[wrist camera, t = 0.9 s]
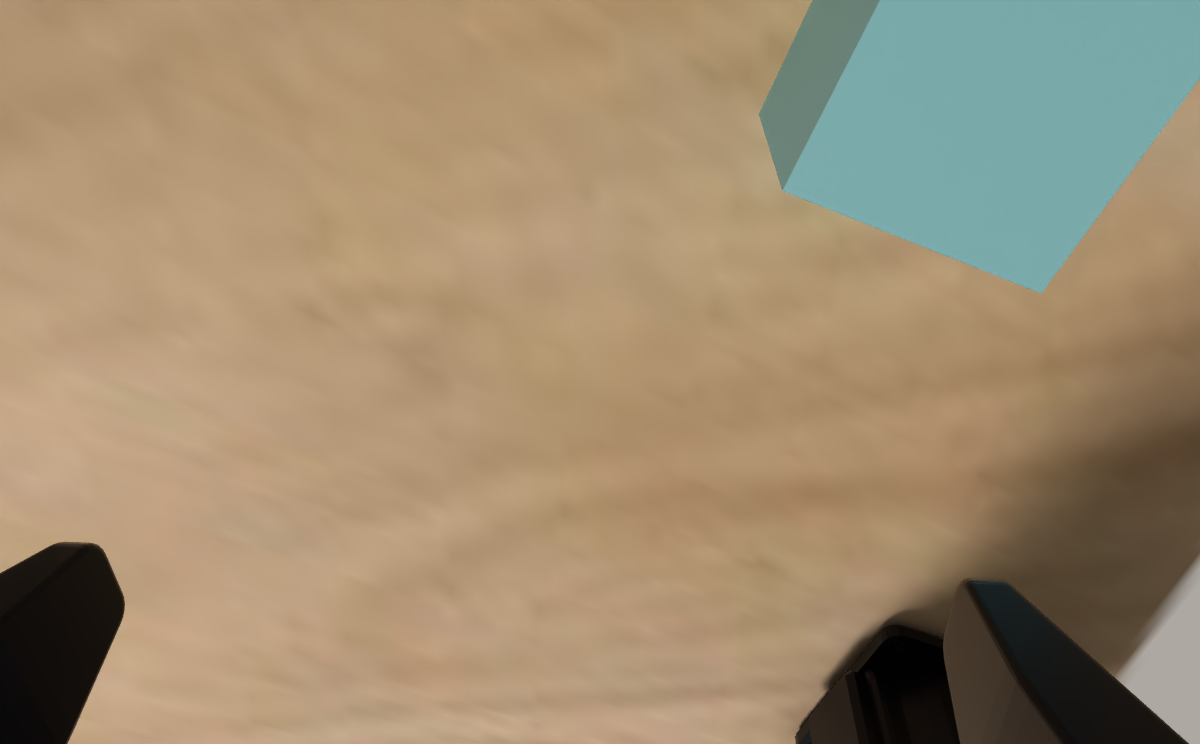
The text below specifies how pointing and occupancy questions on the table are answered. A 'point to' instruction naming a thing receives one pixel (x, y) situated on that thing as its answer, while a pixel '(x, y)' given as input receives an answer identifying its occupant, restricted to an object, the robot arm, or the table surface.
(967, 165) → the teal block
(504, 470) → the table surface
